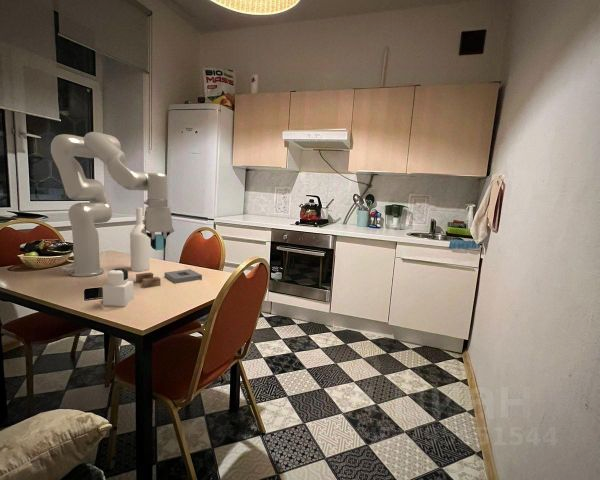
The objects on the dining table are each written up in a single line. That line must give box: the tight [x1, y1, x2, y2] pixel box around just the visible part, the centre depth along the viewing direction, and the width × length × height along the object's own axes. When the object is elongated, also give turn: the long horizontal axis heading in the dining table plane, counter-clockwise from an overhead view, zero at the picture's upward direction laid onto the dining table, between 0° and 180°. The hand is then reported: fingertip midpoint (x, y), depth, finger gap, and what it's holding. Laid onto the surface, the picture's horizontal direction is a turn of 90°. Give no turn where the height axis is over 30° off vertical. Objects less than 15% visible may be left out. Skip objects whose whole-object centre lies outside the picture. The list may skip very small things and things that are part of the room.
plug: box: [154, 233, 165, 251], centre depth 132 cm, size 3×4×6 cm
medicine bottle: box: [101, 267, 135, 308], centre depth 109 cm, size 7×7×12 cm
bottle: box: [129, 207, 150, 272], centre depth 151 cm, size 8×8×30 cm
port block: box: [163, 268, 203, 285], centre depth 142 cm, size 12×12×2 cm
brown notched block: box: [135, 272, 161, 289], centre depth 132 cm, size 6×11×4 cm, turn 44°
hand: (158, 247), depth 132 cm, fingers closed on plug, 2 cm apart
